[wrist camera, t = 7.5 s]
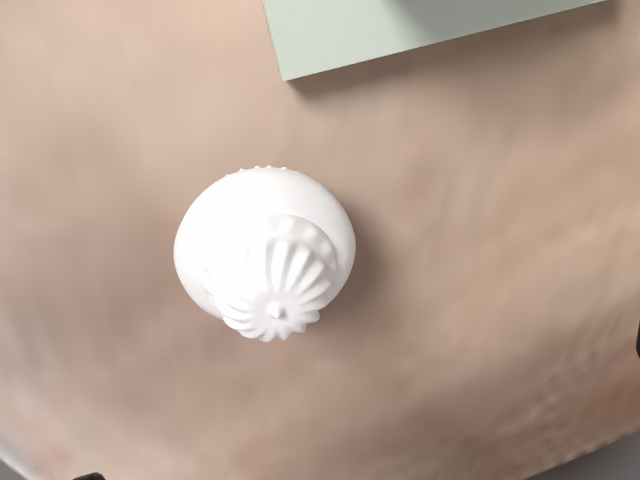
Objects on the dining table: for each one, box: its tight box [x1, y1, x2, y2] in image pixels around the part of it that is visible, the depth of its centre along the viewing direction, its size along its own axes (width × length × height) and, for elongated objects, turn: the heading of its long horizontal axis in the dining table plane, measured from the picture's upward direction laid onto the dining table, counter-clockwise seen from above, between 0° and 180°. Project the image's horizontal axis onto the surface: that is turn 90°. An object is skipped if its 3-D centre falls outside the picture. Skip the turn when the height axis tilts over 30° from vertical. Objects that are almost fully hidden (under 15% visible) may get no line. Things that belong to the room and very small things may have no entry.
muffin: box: [174, 165, 356, 342], centre depth 18 cm, size 6×6×7 cm
